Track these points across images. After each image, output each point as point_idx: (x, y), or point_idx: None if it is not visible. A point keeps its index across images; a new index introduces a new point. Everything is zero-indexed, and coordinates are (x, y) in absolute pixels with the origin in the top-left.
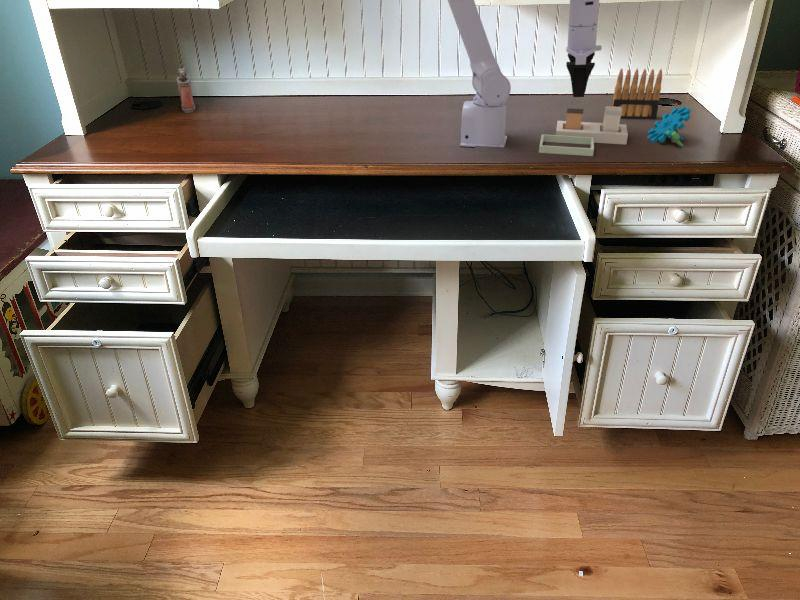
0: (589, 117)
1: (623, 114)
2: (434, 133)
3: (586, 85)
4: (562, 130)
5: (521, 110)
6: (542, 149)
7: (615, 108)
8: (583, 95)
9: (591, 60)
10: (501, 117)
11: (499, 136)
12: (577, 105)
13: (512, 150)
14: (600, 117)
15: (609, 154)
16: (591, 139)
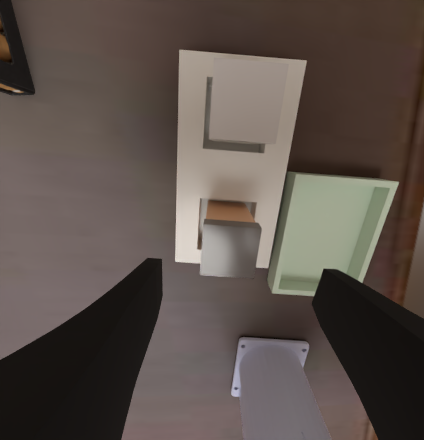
0: (24, 157)
1: (1, 38)
2: (221, 425)
3: (396, 304)
4: (263, 253)
5: (29, 312)
6: None
7: (245, 93)
8: (343, 273)
9: (64, 395)
10: (315, 411)
11: (298, 366)
12: (212, 245)
13: (311, 326)
14: (10, 123)
15: (350, 131)
16: (314, 181)
